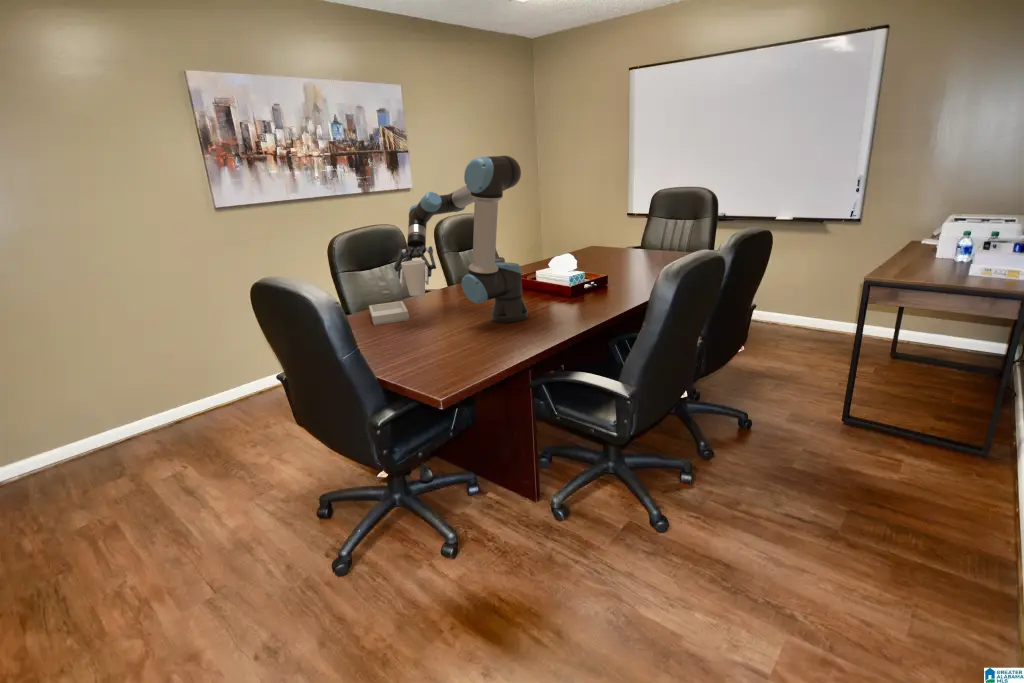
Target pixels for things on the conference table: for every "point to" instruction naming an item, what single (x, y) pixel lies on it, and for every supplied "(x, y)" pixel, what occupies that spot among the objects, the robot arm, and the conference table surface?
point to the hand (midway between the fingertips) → (414, 283)
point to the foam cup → (414, 276)
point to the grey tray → (388, 313)
